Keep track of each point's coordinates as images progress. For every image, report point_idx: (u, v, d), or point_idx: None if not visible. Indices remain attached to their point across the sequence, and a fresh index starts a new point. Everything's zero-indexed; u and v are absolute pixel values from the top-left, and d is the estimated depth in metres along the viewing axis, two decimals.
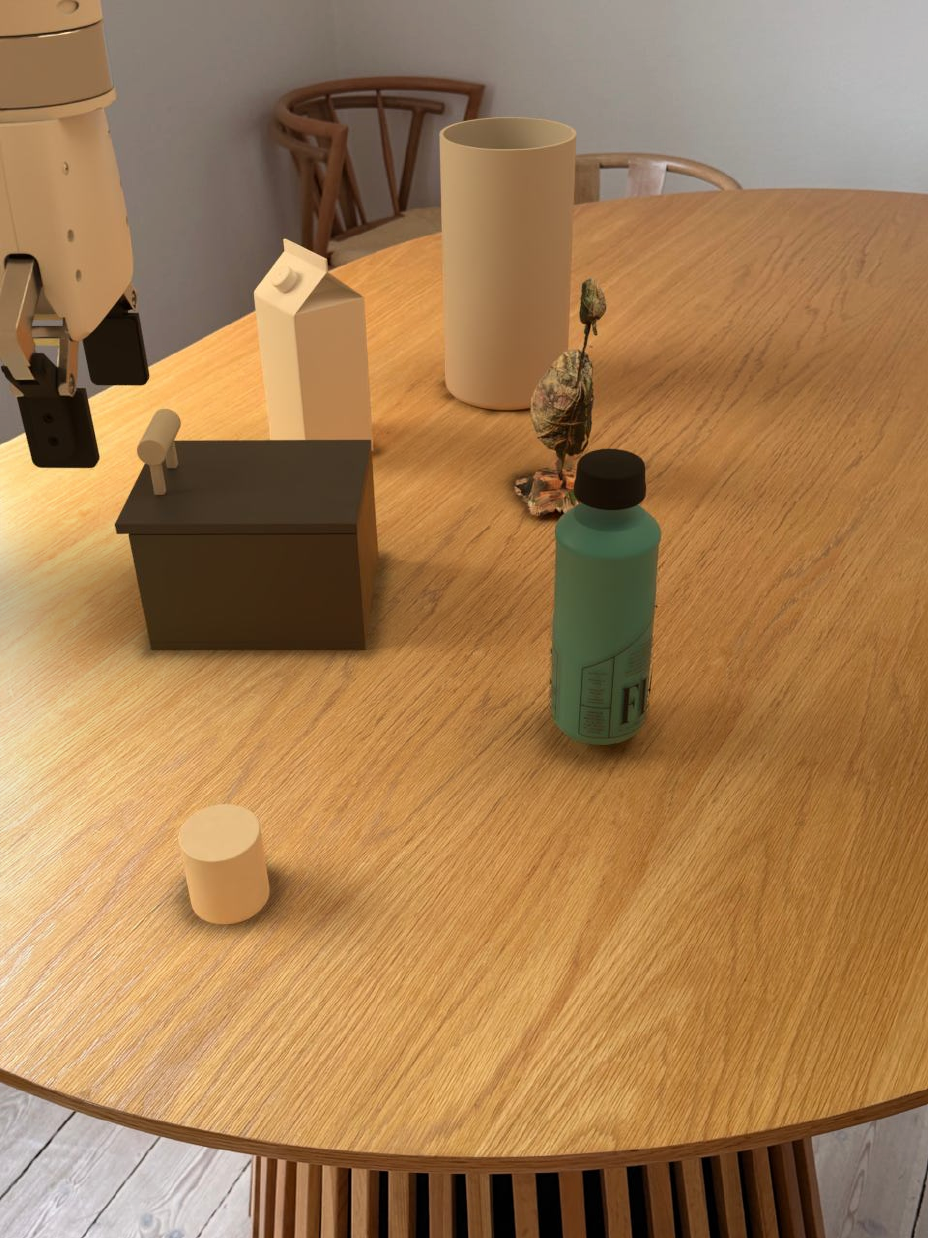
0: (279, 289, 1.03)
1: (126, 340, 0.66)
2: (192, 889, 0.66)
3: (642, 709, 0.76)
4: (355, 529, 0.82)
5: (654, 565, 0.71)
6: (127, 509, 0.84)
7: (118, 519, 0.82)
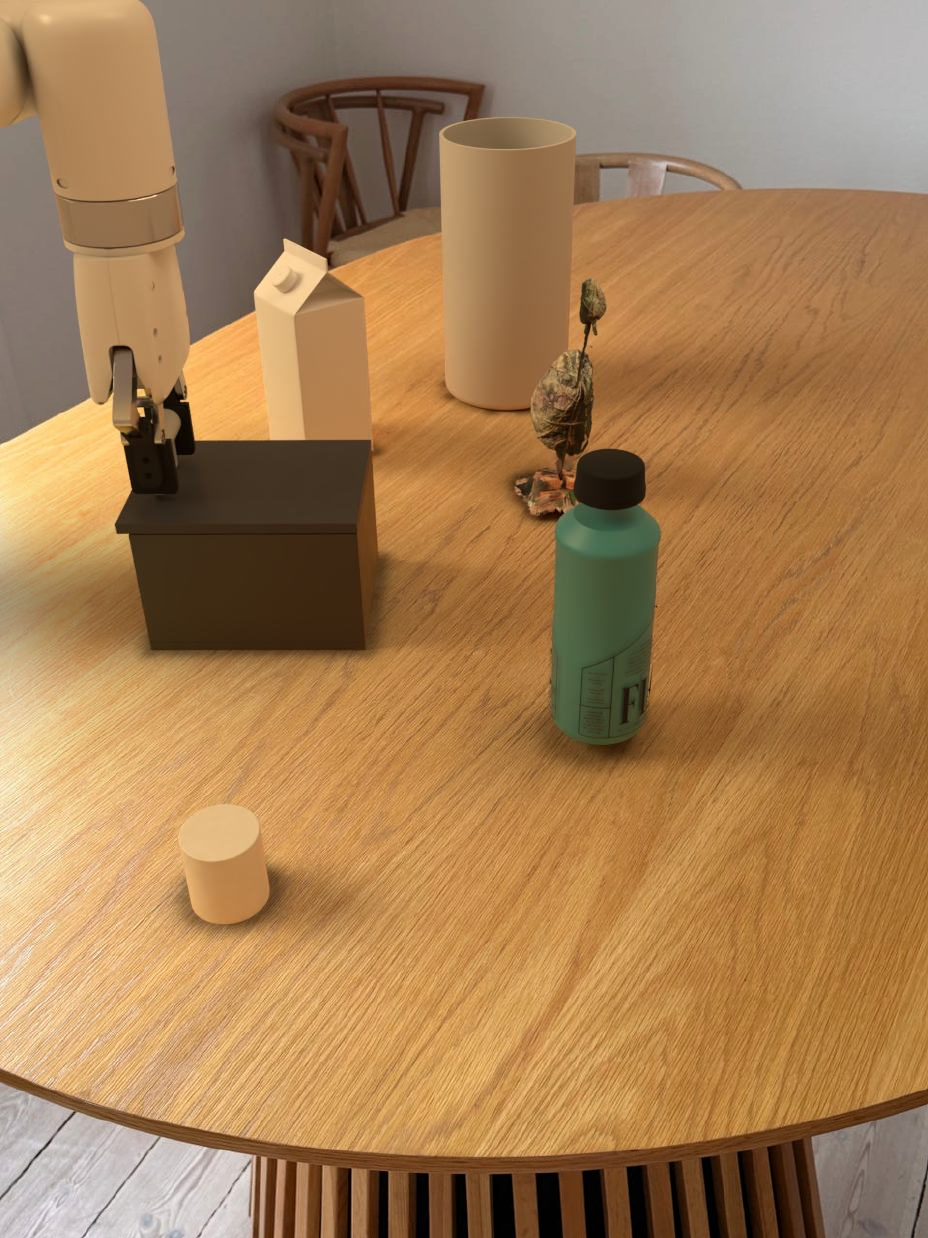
0: (279, 289, 1.03)
1: None
2: (192, 889, 0.66)
3: (642, 709, 0.76)
4: (355, 529, 0.82)
5: (654, 565, 0.71)
6: (127, 509, 0.84)
7: (118, 519, 0.82)
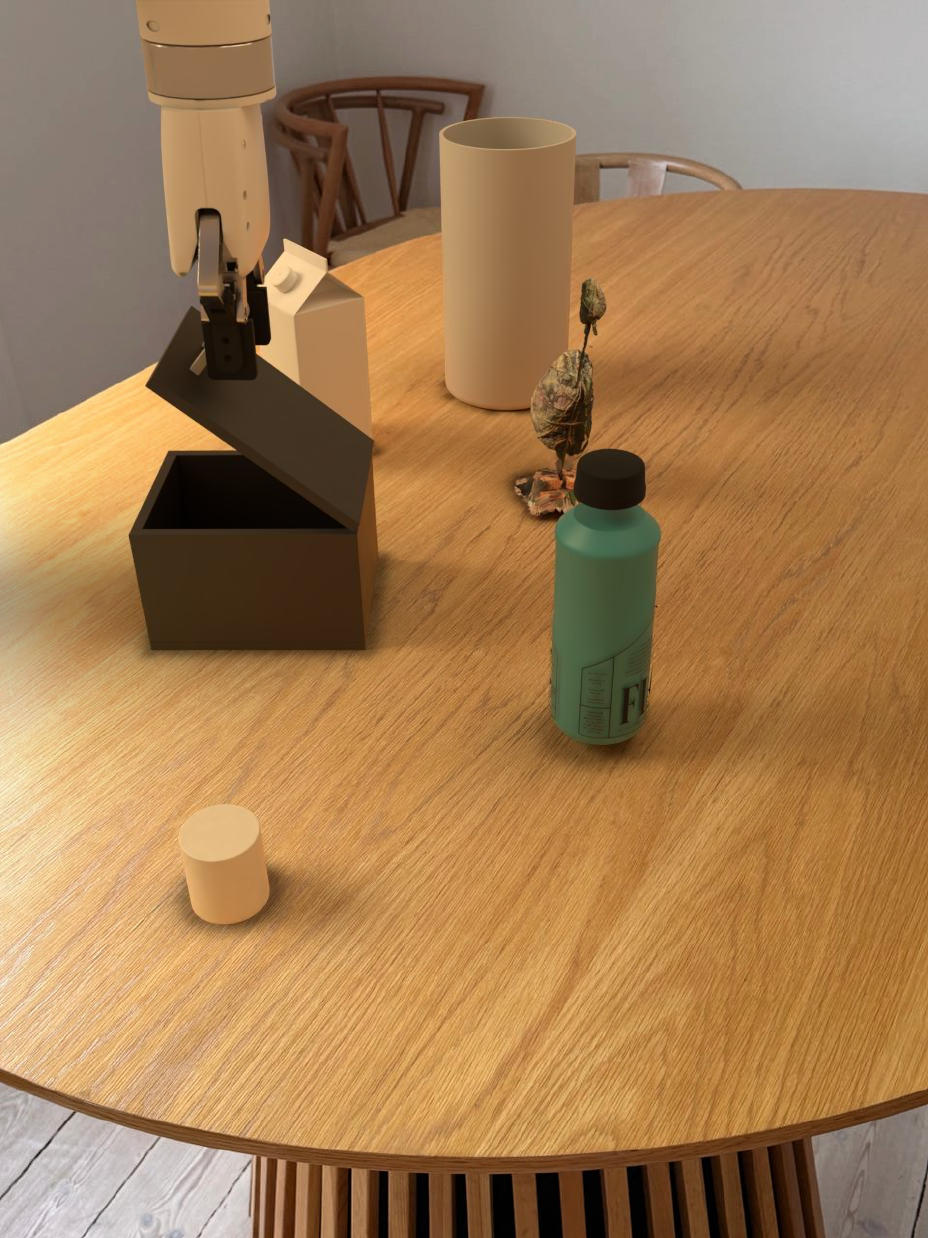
0: (279, 289, 1.03)
1: (256, 308, 0.82)
2: (192, 889, 0.66)
3: (642, 709, 0.76)
4: (354, 528, 0.82)
5: (654, 565, 0.71)
6: (163, 368, 0.78)
7: (155, 374, 0.76)
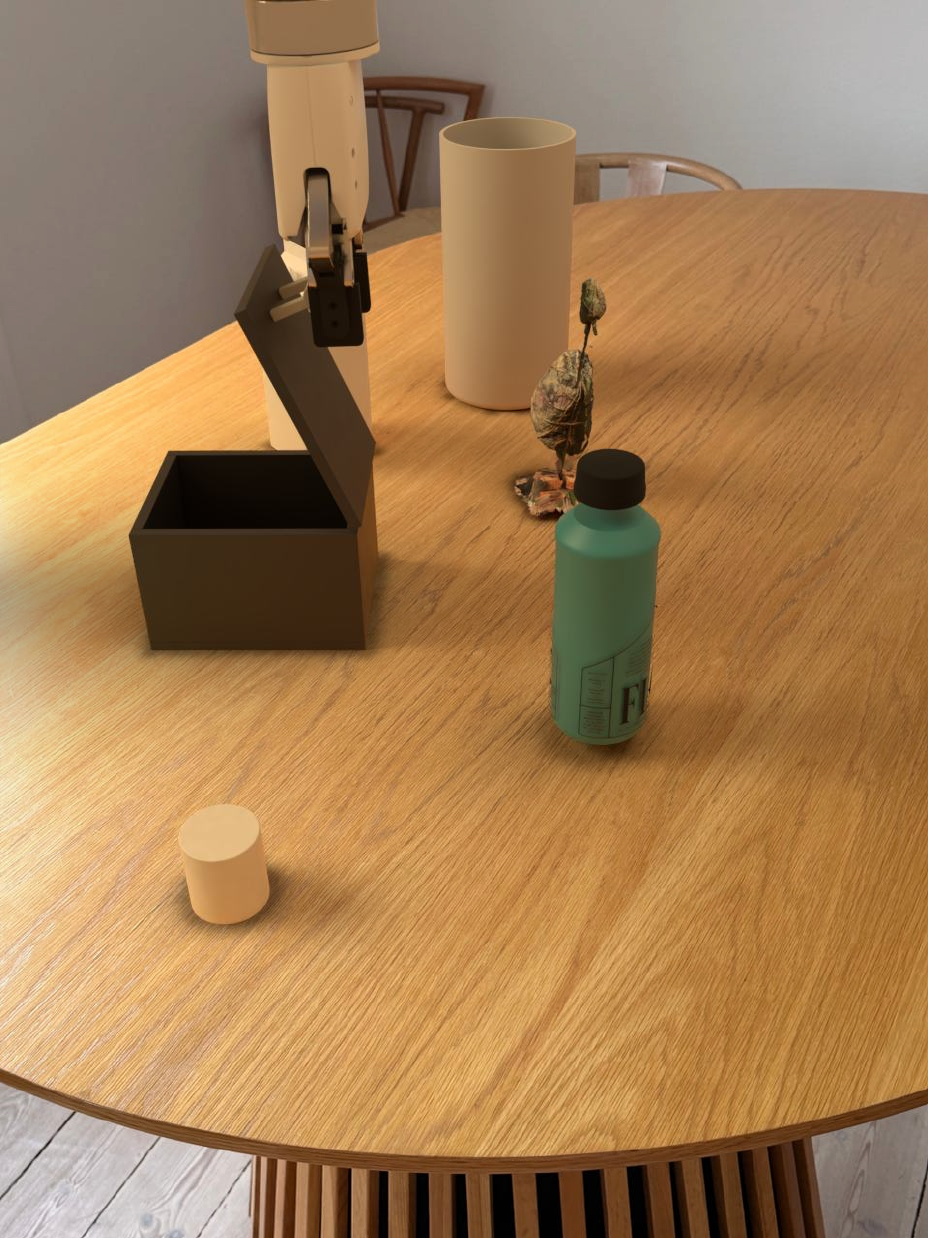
0: None
1: (356, 275, 0.81)
2: (192, 889, 0.66)
3: (642, 709, 0.76)
4: (355, 527, 0.82)
5: (654, 565, 0.71)
6: (253, 303, 0.75)
7: (247, 307, 0.74)
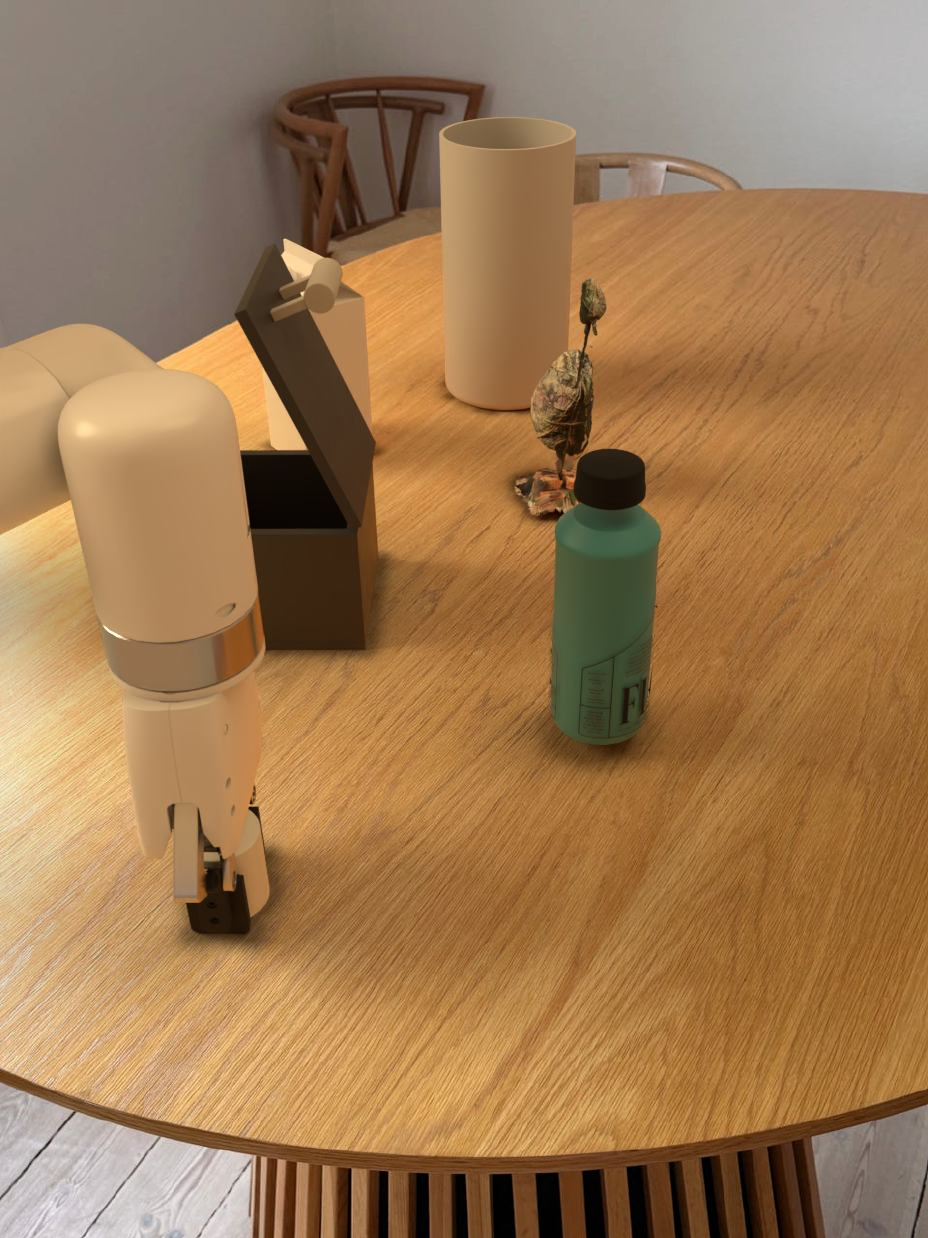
0: None
1: None
2: None
3: (642, 709, 0.76)
4: (355, 527, 0.82)
5: (654, 565, 0.71)
6: (253, 303, 0.75)
7: (247, 307, 0.74)
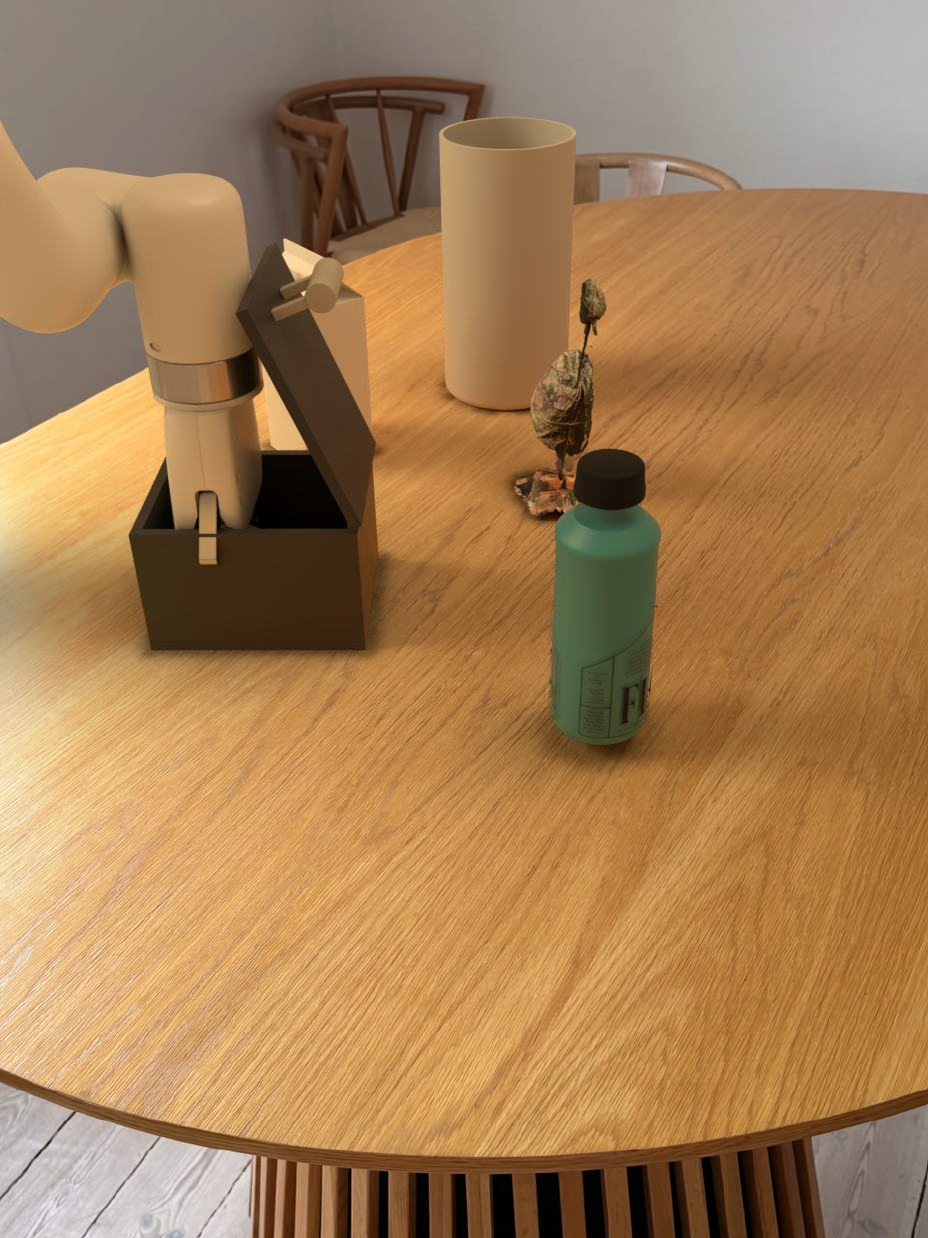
0: None
1: None
2: None
3: (642, 709, 0.76)
4: (355, 527, 0.82)
5: (654, 565, 0.71)
6: (254, 302, 0.75)
7: (249, 306, 0.74)
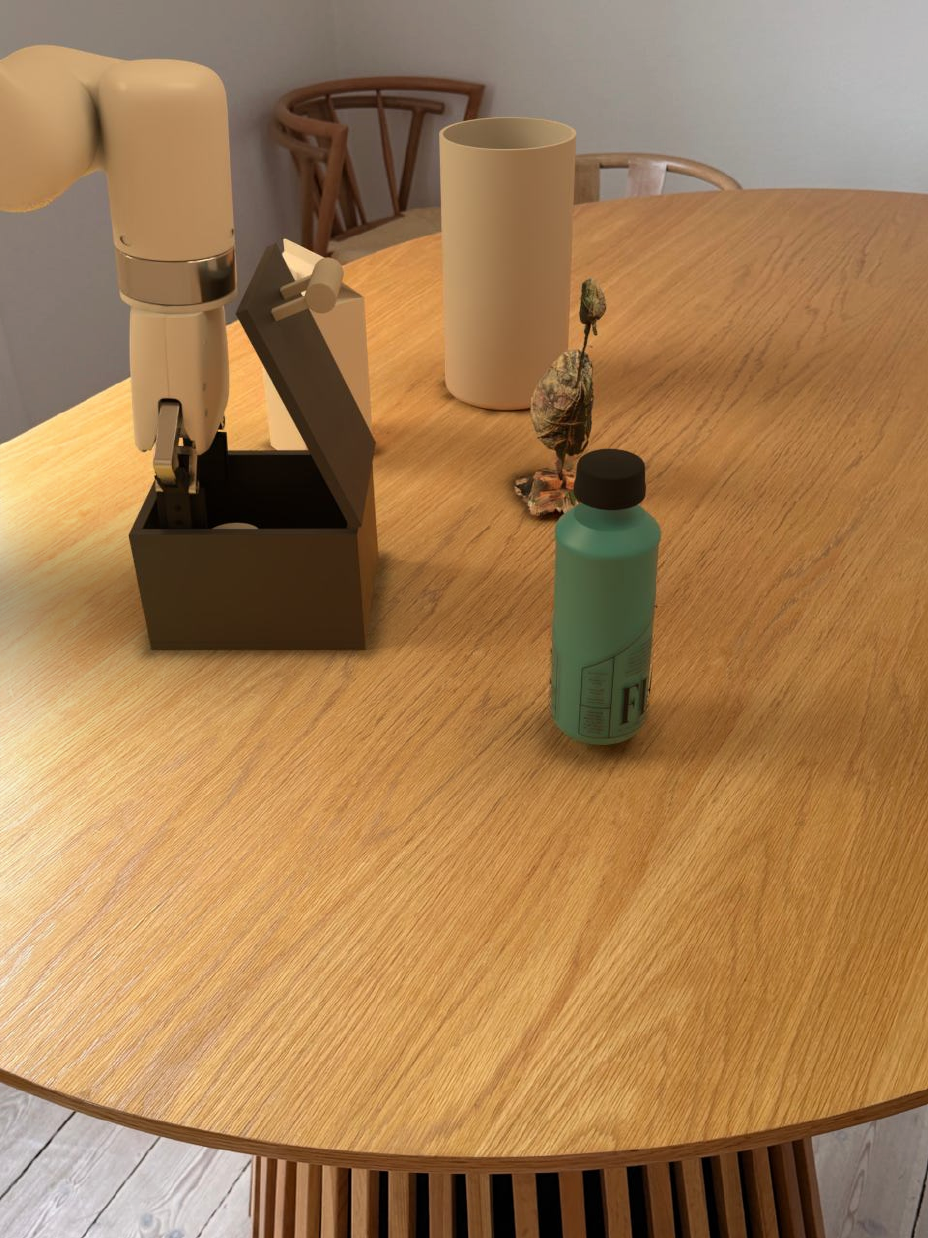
0: None
1: (216, 451, 0.90)
2: None
3: (642, 709, 0.76)
4: (355, 527, 0.82)
5: (654, 565, 0.71)
6: (254, 302, 0.75)
7: (249, 306, 0.74)
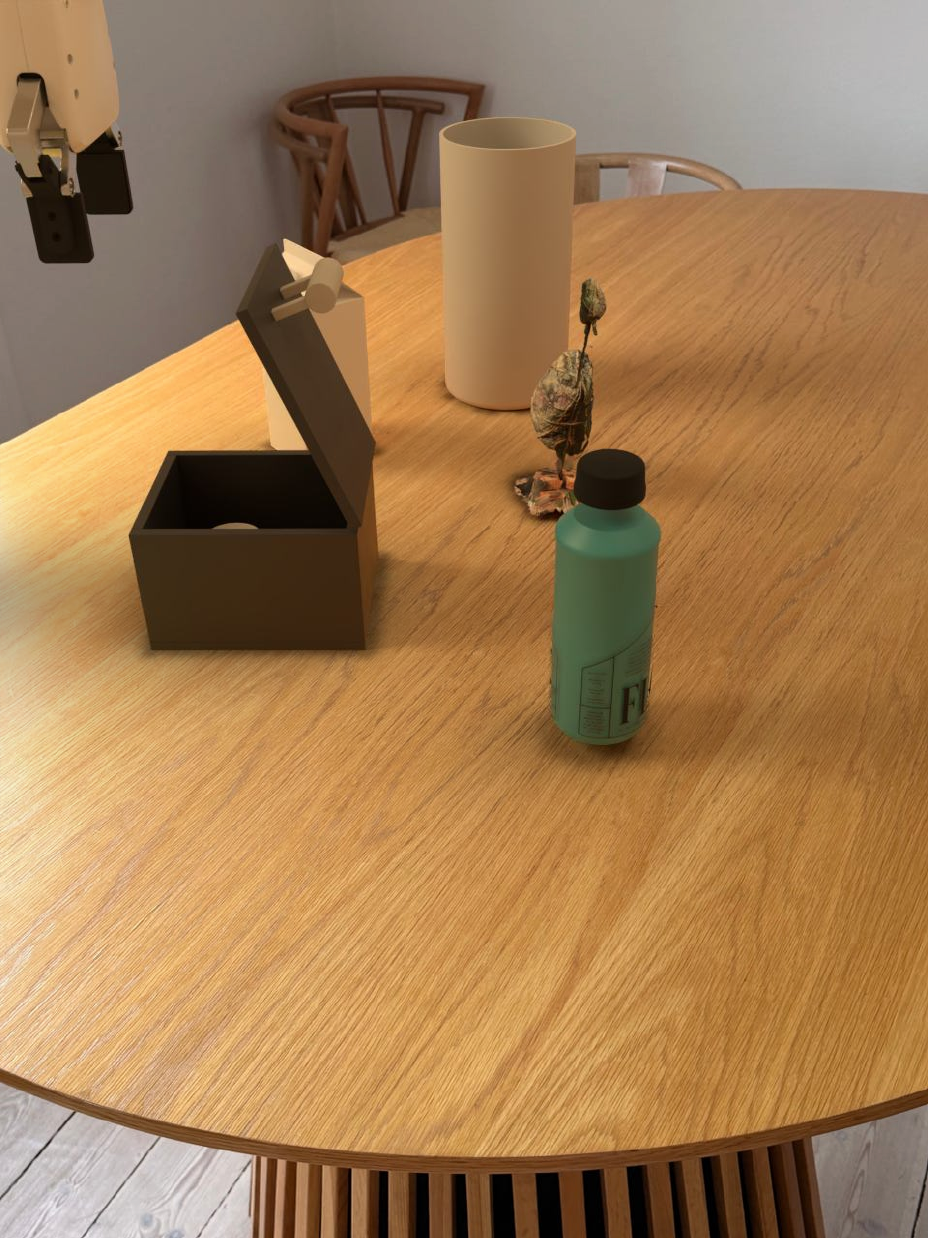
0: None
1: (114, 173, 0.79)
2: None
3: (642, 709, 0.76)
4: (355, 527, 0.82)
5: (654, 565, 0.71)
6: (254, 302, 0.75)
7: (249, 306, 0.74)
